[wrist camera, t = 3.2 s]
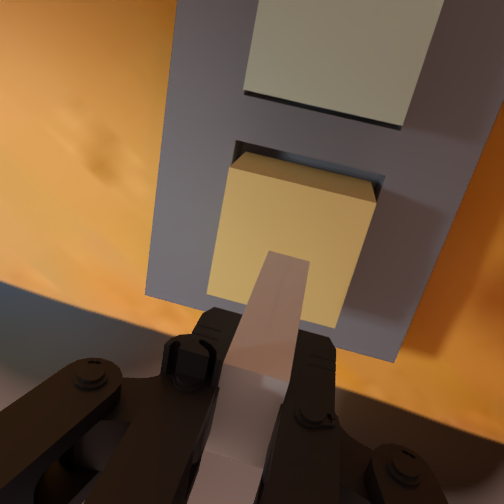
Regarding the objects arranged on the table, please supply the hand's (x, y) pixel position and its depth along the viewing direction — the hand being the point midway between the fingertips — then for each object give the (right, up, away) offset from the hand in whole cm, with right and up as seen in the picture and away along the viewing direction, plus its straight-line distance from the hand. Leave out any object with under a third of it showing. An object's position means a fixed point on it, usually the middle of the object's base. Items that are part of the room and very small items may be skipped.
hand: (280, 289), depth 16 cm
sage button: (+3, +11, +2) cm, 11 cm away
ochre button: (+1, +3, +6) cm, 7 cm away
